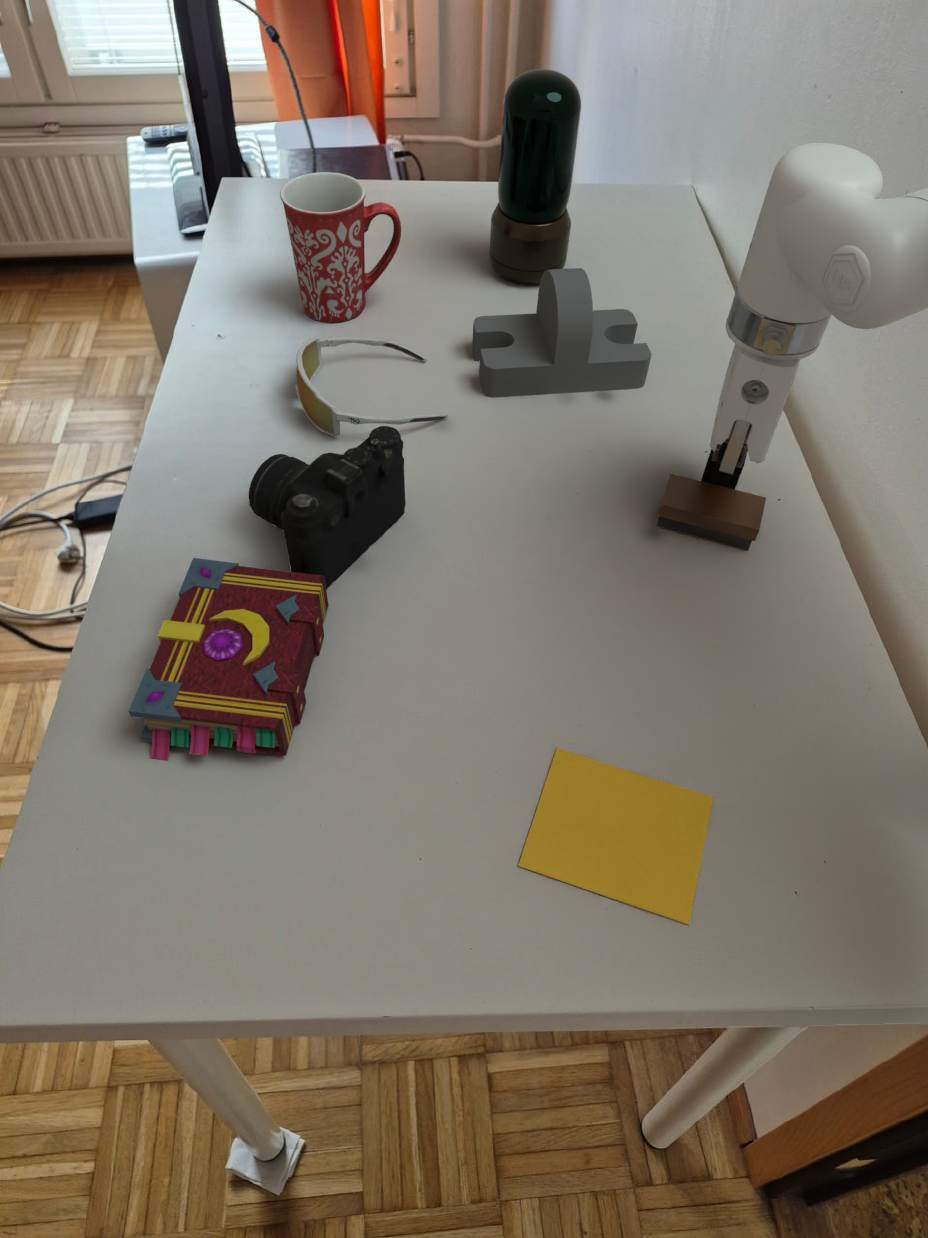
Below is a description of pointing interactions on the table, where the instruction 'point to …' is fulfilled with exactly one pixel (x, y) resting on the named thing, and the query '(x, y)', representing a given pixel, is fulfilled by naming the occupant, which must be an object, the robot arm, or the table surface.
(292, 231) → the mug
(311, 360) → the sunglasses
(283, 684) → the decorative book
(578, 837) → the cloth
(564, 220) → the lamp
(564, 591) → the table surface
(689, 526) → the brush
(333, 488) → the camera
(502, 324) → the bracket
